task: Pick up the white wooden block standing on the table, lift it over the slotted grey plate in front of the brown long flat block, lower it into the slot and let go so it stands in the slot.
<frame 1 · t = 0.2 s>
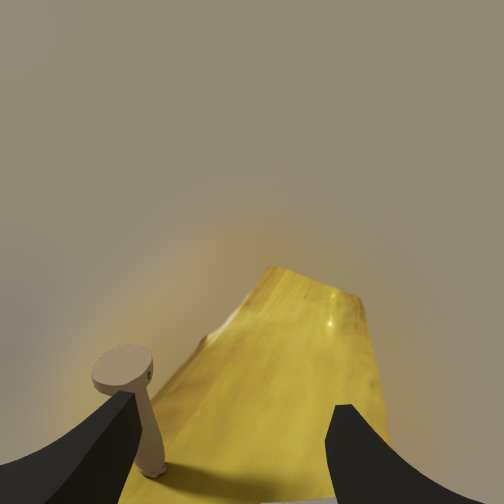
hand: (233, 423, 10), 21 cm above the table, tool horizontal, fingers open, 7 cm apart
handle: (153, 469, 28), on the table
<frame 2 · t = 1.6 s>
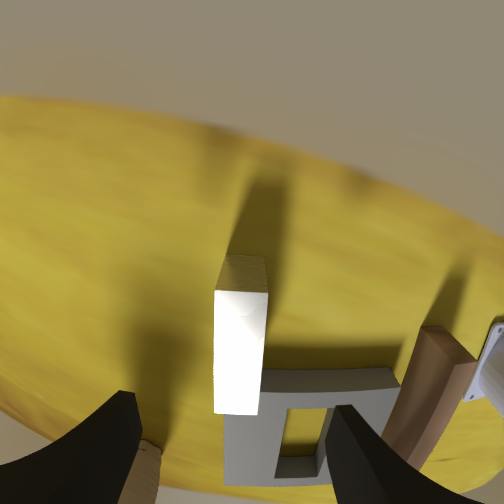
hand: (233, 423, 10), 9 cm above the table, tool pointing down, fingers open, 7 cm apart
white wooden block: (242, 310, 19), on the table
slotted grey plate: (301, 425, 22), on the table
handle: (146, 447, 23), on the table
brown long flat block: (397, 417, 22), on the table
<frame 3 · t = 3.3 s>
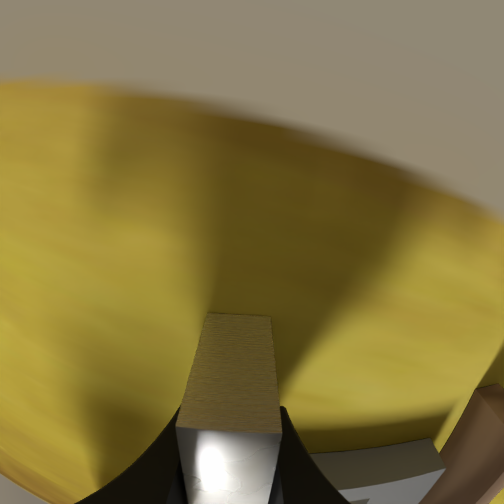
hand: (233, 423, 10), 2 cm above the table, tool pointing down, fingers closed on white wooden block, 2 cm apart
white wooden block: (235, 390, 12), on the table, touching gripper
slotted grey plate: (313, 502, 15), on the table
brown long flat block: (428, 482, 15), on the table
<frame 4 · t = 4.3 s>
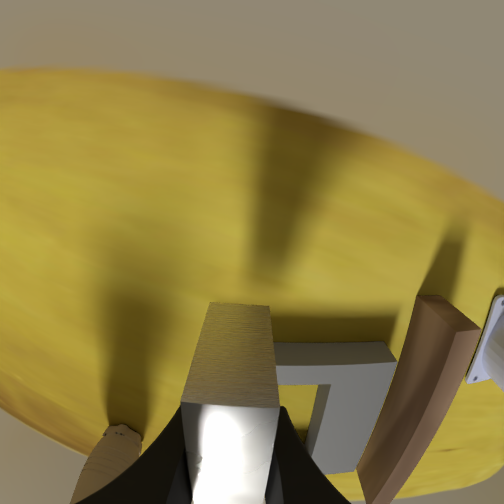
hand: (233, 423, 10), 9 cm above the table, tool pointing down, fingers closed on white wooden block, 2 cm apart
white wooden block: (236, 378, 13), point 6 cm above the table, touching gripper
slotted grey plate: (288, 408, 21), on the table
handle: (126, 433, 22), on the table
brown long flat block: (395, 400, 21), on the table
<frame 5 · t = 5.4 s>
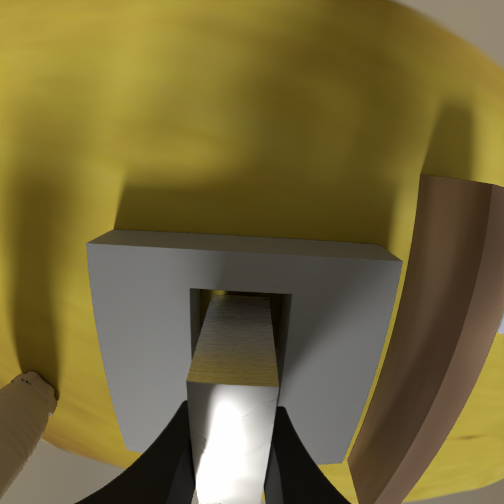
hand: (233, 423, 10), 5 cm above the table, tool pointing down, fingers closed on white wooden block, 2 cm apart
white wooden block: (237, 369, 13), point 1 cm above the table, touching gripper
slotted grey plate: (238, 354, 15), on the table
handle: (41, 386, 16), on the table
brown long flat block: (402, 353, 15), on the table
when the fingers open (3 cm above the table, at t = 5.9 s): white wooden block stays where it is, resting in slotted grey plate.
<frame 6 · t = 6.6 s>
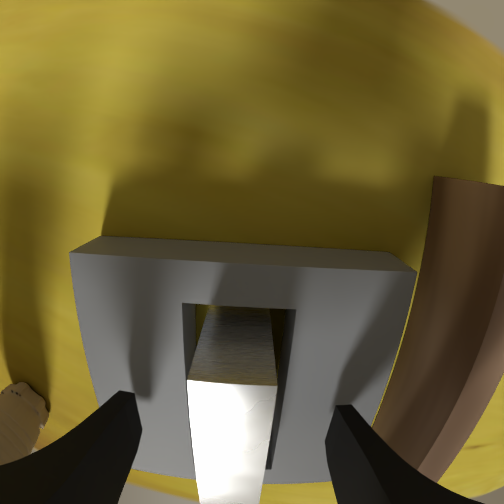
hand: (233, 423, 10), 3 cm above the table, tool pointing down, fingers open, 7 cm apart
white wooden block: (237, 367, 13), resting in slotted grey plate
slotted grey plate: (237, 369, 13), on the table
handle: (32, 397, 15), on the table
brown long flat block: (411, 366, 13), on the table
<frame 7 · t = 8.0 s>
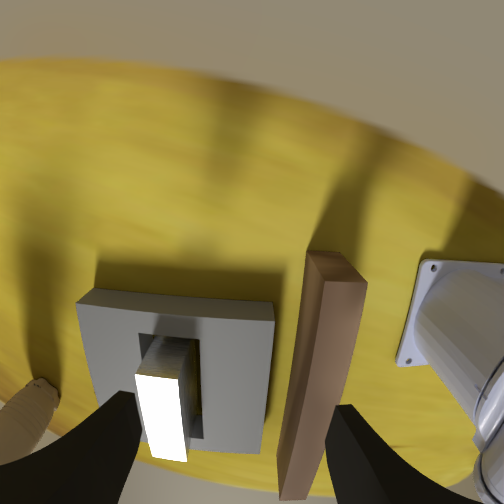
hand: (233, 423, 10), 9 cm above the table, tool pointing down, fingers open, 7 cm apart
white wooden block: (180, 369, 21), resting in slotted grey plate
slotted grey plate: (180, 370, 20), on the table
handle: (47, 388, 22), on the table
brown long flat block: (304, 377, 21), on the table
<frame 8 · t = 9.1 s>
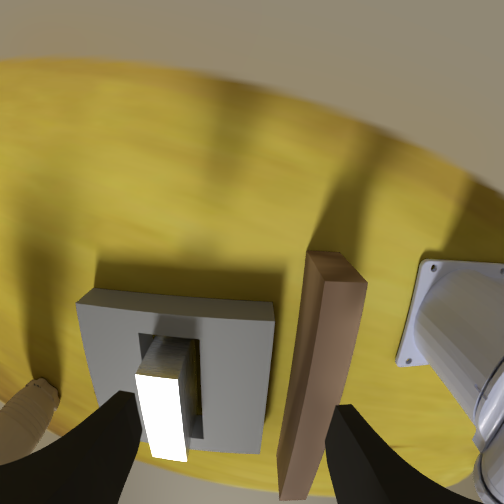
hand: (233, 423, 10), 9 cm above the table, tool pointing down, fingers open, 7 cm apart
white wooden block: (180, 369, 21), resting in slotted grey plate
slotted grey plate: (180, 370, 20), on the table
handle: (47, 388, 22), on the table
brown long flat block: (304, 377, 21), on the table
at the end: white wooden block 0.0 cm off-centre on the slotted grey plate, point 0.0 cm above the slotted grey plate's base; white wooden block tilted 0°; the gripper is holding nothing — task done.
